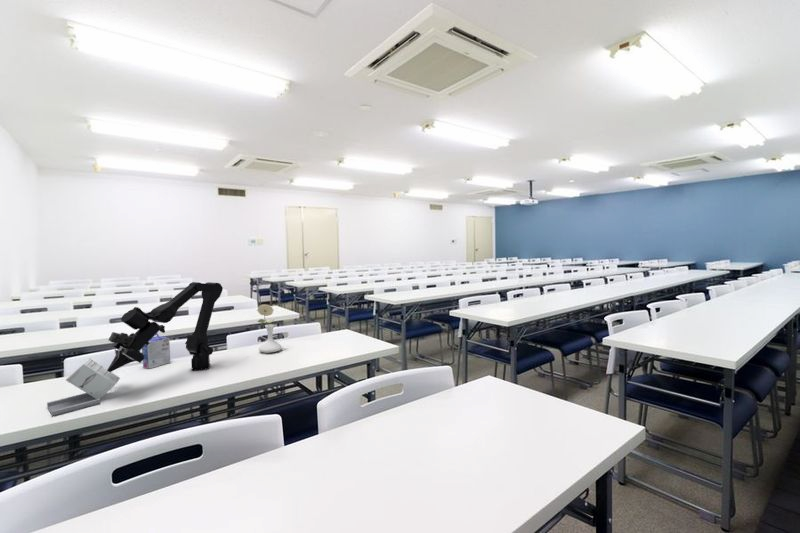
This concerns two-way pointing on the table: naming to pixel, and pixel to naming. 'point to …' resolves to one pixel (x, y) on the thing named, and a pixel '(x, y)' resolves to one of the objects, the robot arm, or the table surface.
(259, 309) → the flower in vase
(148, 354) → the ink cartridge box
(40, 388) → the table surface
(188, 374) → the table surface
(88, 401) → the tray
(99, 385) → the supplement box
